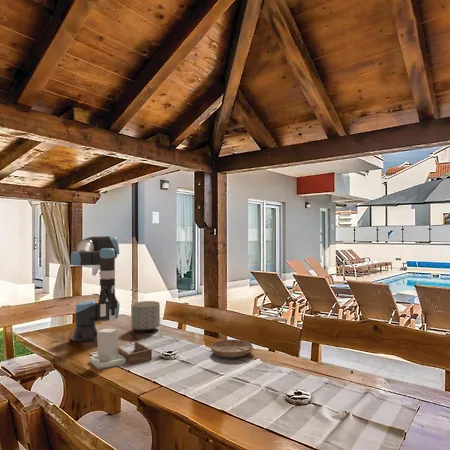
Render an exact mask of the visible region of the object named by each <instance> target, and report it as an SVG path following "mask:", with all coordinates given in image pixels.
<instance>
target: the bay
mask: <svg viewBox="0 0 450 450" xmlns="http://www.w3.org/2000/svg"><path fill="white" fill-rule="evenodd" d="M134 351H136V352H132V353H129V352H128V351H126V350H125V349H123V348H121V346H118V353H119V354H120V355H122V356H123V357H125V358H126V364H127V363H128V365H132V364H136V363H140V362H144V361H148V360H152V358H153V357H152V355H153V354H152V353H153V351H152V348H149V347H148V346H146V345H145V344H142V343H141V342H140V341H137V340H134ZM131 363H132V364H131Z"/></svg>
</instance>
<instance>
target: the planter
mask: <svg viewBox="0 0 450 450" xmlns="http://www.w3.org/2000/svg"><path fill="white" fill-rule="evenodd" d="M160 304H161V303H160V302H159V301H157V300H155V301H154V300H153V301H152V300H142V301H136V302H132V303H131V305H130V307H131V308H130V309H131V315H130V316H131V328H132V329H135V330H136V331H139V332H142V333H143V332H144V333H146V332H151V331H153V330H155V329H156V328H159V327H160V326H161V317H160V316H161V310H160V309H161V305H160Z"/></svg>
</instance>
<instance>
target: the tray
mask: <svg viewBox="0 0 450 450" xmlns="http://www.w3.org/2000/svg"><path fill="white" fill-rule="evenodd" d="M89 362H90V364H92V365H93V366H94V367H95V368H96V369H98V370H103V369H109V368H112V367H116V366H121V365H120V364H122V365H125V364H124V363H126V358H125V357H123V356H122V355H120V354H119V353H118V359H116V360H113V361H109V362H102V361H98V354H97V355H93V356H89ZM126 364H127V363H126Z"/></svg>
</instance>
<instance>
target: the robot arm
mask: <svg viewBox="0 0 450 450" xmlns="http://www.w3.org/2000/svg"><path fill="white" fill-rule="evenodd" d="M118 240H119V239H118V237H117V236H115V235H114V236H113V235H111V236H110V235H108V236H90V237H86V238H83V239H82V240H80V241H79V242H78V244H77V246H76V250H77V251H71V254H70V265H71V266H72V267H74V266H75V267H76V266H77V267H80V266H84V267H85V266H99V272H98V274H99V278H100V279H99V286H100V292H99V297H98V302H96V301H95V300H85V301H81V302H79V303H77V304H76V305H75V311H74V313H75V328H74V332H73V335H72V341H73V342H74V343H88V342H93V341H95V340H97V332H98V329H97V328H96V322H108V321H109V323H112V322H116V320H117V319H118V318H119V313H120V303H121V302H120V301H118V298H117V297H116V288H115V287H116V265H115V264H116V259H117V258H118V255H120V247H119V241H118Z"/></svg>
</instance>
